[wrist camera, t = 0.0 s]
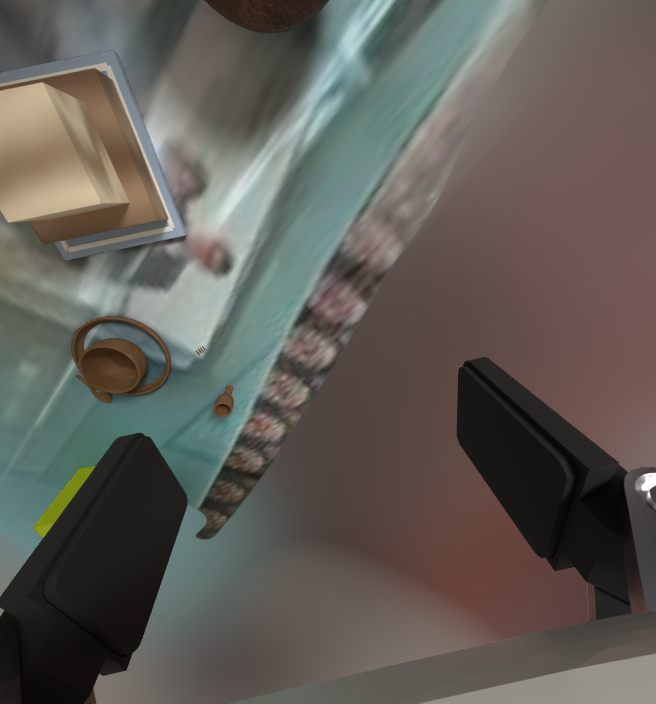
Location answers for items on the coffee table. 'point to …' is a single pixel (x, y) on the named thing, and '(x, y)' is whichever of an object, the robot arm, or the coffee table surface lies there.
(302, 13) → the wooden sphere
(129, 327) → the coffee table surface
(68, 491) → the puzzle toy
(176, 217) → the blueprint board
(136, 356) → the place setting
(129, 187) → the plinth
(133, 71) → the coffee table surface
